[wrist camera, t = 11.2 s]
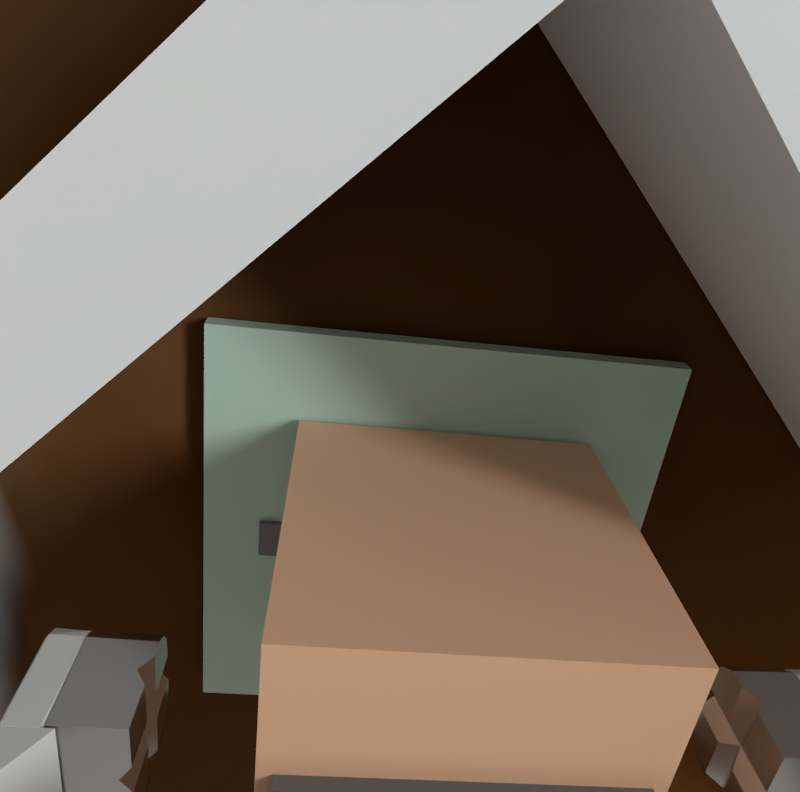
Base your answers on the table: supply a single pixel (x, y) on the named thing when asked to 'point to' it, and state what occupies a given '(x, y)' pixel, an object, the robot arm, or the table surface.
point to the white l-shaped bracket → (327, 172)
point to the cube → (468, 623)
